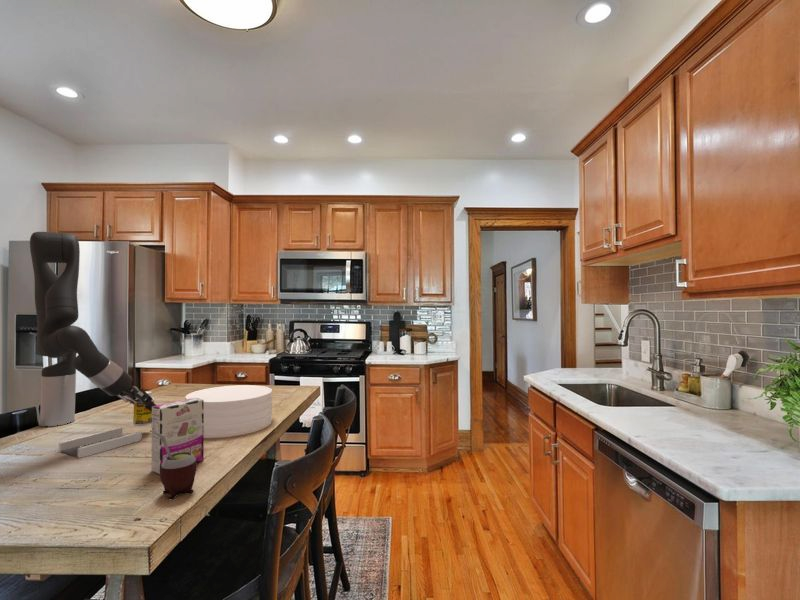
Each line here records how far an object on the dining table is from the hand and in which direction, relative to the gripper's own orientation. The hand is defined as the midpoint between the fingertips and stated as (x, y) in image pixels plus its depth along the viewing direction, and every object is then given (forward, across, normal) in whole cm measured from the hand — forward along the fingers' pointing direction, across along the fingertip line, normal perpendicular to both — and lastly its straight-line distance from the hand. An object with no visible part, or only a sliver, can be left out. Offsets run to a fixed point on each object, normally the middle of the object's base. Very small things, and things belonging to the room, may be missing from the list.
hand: (149, 408), depth 126 cm
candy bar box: (-4, -35, +15) cm, 38 cm away
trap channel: (-3, 0, +15) cm, 15 cm away
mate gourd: (-11, -49, +22) cm, 55 cm away
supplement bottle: (+2, 0, +5) cm, 5 cm away
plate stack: (+19, -17, -7) cm, 26 cm away
